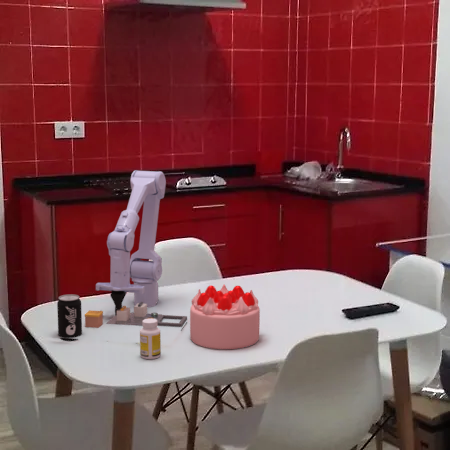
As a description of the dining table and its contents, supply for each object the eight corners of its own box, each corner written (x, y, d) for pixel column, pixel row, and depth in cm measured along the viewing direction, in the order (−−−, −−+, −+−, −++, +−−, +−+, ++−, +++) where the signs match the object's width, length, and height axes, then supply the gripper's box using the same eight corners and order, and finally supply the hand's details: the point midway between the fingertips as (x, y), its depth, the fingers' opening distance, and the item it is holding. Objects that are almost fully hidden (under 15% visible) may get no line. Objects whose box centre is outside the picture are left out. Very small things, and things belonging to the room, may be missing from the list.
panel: (118, 315, 236) (118, 310, 236) (162, 318, 234) (162, 312, 234) (106, 327, 225) (106, 321, 224) (152, 330, 223) (152, 324, 222)
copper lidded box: (89, 326, 226) (89, 310, 225) (103, 327, 225) (103, 311, 224) (85, 331, 222) (84, 314, 221) (98, 331, 221) (98, 315, 220)
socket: (161, 321, 231) (161, 314, 231) (187, 322, 230) (187, 316, 230) (154, 329, 223) (154, 322, 223) (181, 330, 222) (181, 324, 222)
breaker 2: (137, 312, 236) (137, 301, 235) (147, 313, 235) (147, 301, 235) (134, 316, 232) (134, 304, 231) (143, 316, 231) (143, 305, 231)
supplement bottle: (161, 352, 204) (160, 317, 202) (160, 359, 199) (159, 323, 197) (140, 352, 204) (140, 317, 202) (139, 359, 199) (138, 323, 197)
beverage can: (59, 342, 211) (57, 301, 209) (57, 335, 217) (56, 294, 215) (83, 340, 213) (82, 299, 211) (81, 333, 219) (79, 293, 217)
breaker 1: (120, 316, 231) (120, 305, 231) (130, 317, 231) (130, 305, 230) (116, 320, 228) (116, 308, 227) (126, 321, 227) (126, 309, 226)
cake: (189, 350, 206) (189, 299, 204) (191, 327, 226) (191, 280, 223) (261, 350, 207) (262, 299, 204) (257, 327, 226) (257, 281, 224)
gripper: (92, 272, 224) (92, 316, 227) (139, 276, 222) (139, 320, 224) (100, 266, 231) (100, 309, 233) (146, 270, 228) (145, 313, 231)
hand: (119, 314), depth 229 cm, fingers closed, pressing on breaker 1
